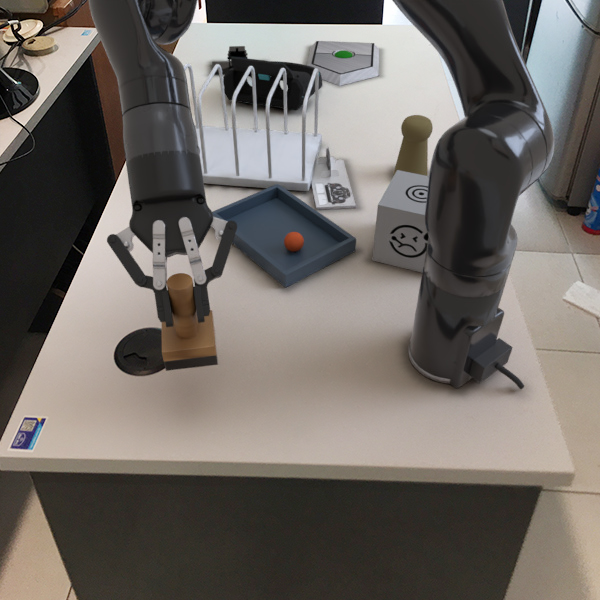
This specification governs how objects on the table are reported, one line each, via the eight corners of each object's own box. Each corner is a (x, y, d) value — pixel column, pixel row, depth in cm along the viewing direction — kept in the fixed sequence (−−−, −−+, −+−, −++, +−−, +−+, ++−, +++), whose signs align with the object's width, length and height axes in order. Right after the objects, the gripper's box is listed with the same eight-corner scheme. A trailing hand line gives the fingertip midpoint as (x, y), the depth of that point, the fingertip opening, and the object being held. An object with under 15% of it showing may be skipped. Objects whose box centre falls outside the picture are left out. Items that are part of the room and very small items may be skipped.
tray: (355, 251, 96) (356, 238, 95) (285, 287, 90) (285, 275, 88) (278, 195, 108) (277, 183, 106) (210, 225, 101) (209, 212, 100)
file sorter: (168, 182, 111) (152, 97, 100) (195, 134, 123) (183, 55, 113) (308, 192, 108) (308, 106, 97) (322, 142, 120) (322, 61, 110)
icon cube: (452, 238, 99) (463, 183, 92) (437, 276, 92) (448, 220, 85) (390, 224, 101) (397, 169, 95) (372, 260, 95) (377, 204, 88)
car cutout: (307, 163, 115) (307, 140, 112) (343, 161, 116) (344, 139, 113) (316, 209, 104) (316, 186, 101) (355, 207, 105) (357, 184, 102)
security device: (301, 84, 141) (301, 75, 139) (310, 46, 157) (311, 38, 155) (378, 88, 139) (378, 79, 138) (379, 49, 156) (380, 41, 154)
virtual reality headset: (214, 104, 130) (213, 54, 125) (255, 80, 148) (255, 34, 142) (299, 117, 126) (301, 65, 120) (330, 90, 143) (334, 44, 138)
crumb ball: (301, 226, 94) (293, 233, 97) (284, 232, 93) (277, 239, 96) (310, 243, 94) (302, 250, 97) (293, 250, 93) (286, 257, 96)
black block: (211, 75, 144) (208, 55, 141) (212, 62, 150) (210, 43, 146) (265, 73, 145) (264, 53, 141) (264, 61, 150) (263, 41, 147)
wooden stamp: (214, 328, 72) (205, 260, 66) (218, 364, 68) (209, 296, 61) (165, 334, 72) (151, 266, 65) (165, 371, 68) (151, 302, 61)
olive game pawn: (426, 186, 110) (435, 128, 102) (391, 183, 110) (398, 125, 103) (428, 169, 114) (437, 112, 106) (394, 165, 115) (401, 108, 107)
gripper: (86, 155, 60) (110, 334, 60) (232, 141, 62) (256, 314, 62) (99, 174, 67) (121, 334, 67) (229, 161, 70) (251, 315, 69)
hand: (186, 323), depth 64 cm, fingers closed on wooden stamp, 2 cm apart
